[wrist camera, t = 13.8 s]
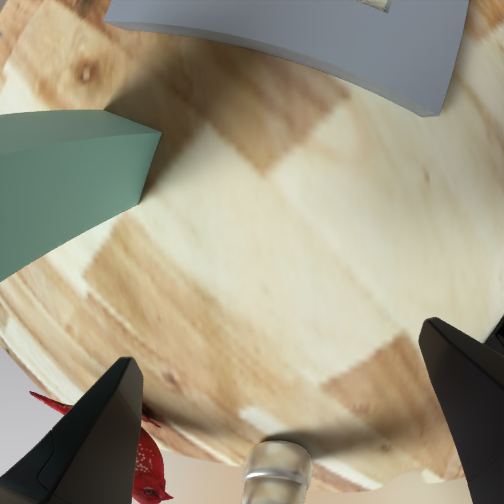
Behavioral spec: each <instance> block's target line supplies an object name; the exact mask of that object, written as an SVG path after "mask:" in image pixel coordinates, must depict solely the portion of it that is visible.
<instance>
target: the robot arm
mask: <svg viewBox="0 0 504 504" xmlns="http://www.w3.org/2000/svg"><path fill="white" fill-rule="evenodd" d="M419 346H420V349H421V352H422V355H423V358H424V361H425V365H426V368H427V371H428V374H429V377H430V380H431V383H432V386H433V388H434V391H435V393H436V396H437V398H438V401H439V403H440V406H441V408H442V411H443V413H444V416H445V418H446V421H447V424H448V426H449V429H450V432H451V434H452V437H453V440H454V443H455V446H456V449H457V452H458V455H459V458H460V461H461V464H462V467H463V470H464V473H465V477H466V480H467V483H468V487H469V490H470V494H471V498H472V502H473V504H504V317H503V318H502V319H501V321H500V322H499V324H498V325H497V327H496V328H495V330H494V331H493V333H492V334H491V335H490V337H489V338H488V340H487V341H486V342H485V344H482V343H480V342H479V341H477V340H475V339H474V338H472V337H470V336H469V335H467V334H465V333H463V332H462V331H460V330H458V329H457V328H455V327H453V326H451V325H450V324H448V323H446V322H445V321H443V320H441V319H439V318H437V317H432V318H428V319H426V320H425V321H424V322H423V326H422V329H421V332H420V335H419ZM142 397H143V375H142V372H141V370H140V368H139V367H138V365H137V363H136V361H135V359H134V358H133V357H120V358H119V359H118V360H117V361H116V362H115V363H114V364H113V365H112V366H111V367H110V368H109V369H108V370H107V371H106V372H105V373H104V374H103V375H102V376H101V377H100V378H99V379H98V381H97V382H96V383H95V384H94V385H93V386H92V387H91V388H90V389H89V390H88V391H87V392H86V393H85V394H84V395H83V396H82V397H81V398H80V399H79V400H78V401H77V403H76V404H75V405H74V406H73V407H72V408H71V409H70V410H69V411H68V412H67V413H66V414H65V415H64V416H63V417H62V418H61V419H60V421H59V422H58V423H57V424H56V425H55V426H54V427H53V428H52V430H50V431H49V432H48V433H47V434H46V435H45V436H44V438H43V439H42V440H41V441H40V442H39V443H38V444H37V445H36V446H35V447H34V448H33V449H32V450H31V451H29V452H28V453H27V454H26V455H25V456H24V457H23V458H22V459H21V460H19V461H18V462H17V463H16V464H15V465H14V466H13V467H11V468H10V469H9V470H8V471H7V472H6V473H5V474H3V475H2V476H1V477H0V504H131V503H132V492H133V483H134V474H135V465H136V457H137V450H138V443H139V436H140V429H141V419H142Z"/></svg>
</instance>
